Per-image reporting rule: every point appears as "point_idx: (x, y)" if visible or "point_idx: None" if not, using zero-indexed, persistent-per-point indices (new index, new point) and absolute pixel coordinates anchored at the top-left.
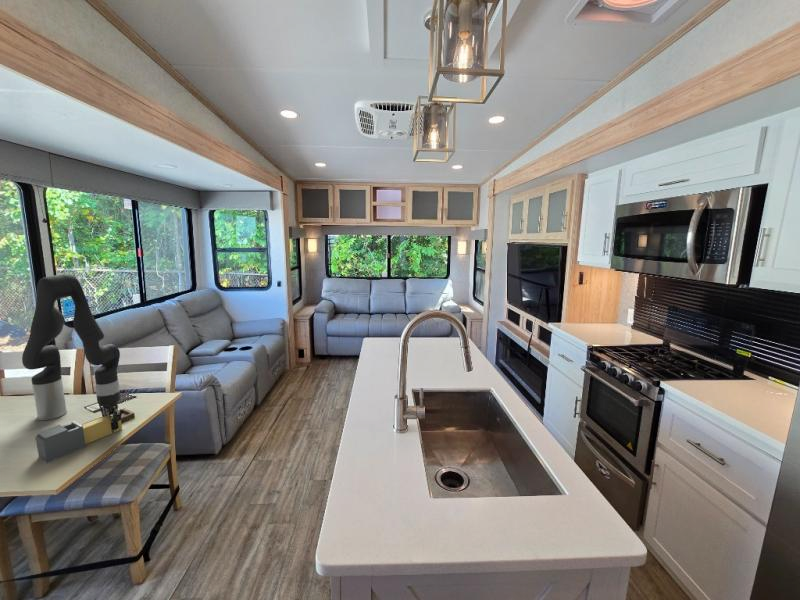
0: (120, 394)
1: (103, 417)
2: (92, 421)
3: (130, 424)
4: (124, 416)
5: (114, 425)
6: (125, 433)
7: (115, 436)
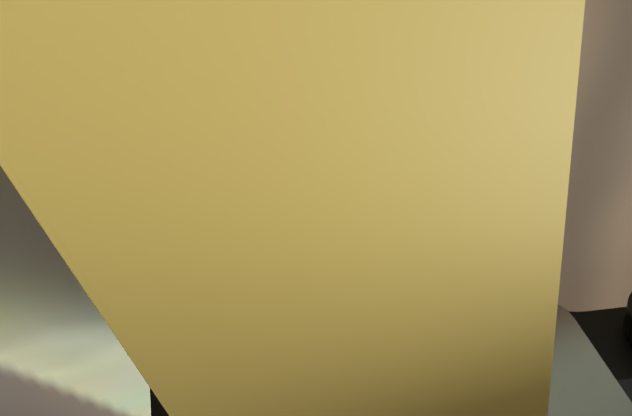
0: None
1: (508, 394)
2: (527, 52)
3: None
4: None
5: (155, 396)
6: (50, 371)
7: (23, 261)
